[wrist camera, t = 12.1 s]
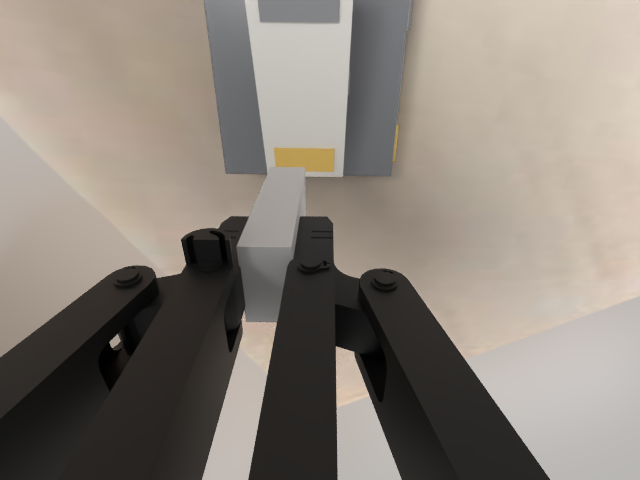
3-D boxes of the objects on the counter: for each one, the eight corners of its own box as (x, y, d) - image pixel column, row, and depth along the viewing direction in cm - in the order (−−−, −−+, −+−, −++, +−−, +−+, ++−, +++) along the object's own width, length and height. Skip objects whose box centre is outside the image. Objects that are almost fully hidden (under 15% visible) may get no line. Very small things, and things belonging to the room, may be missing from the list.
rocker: (246, -45, 16) (239, -36, 15) (353, -44, 16) (355, -35, 15) (270, 161, 24) (267, 177, 23) (342, 162, 24) (342, 178, 23)
